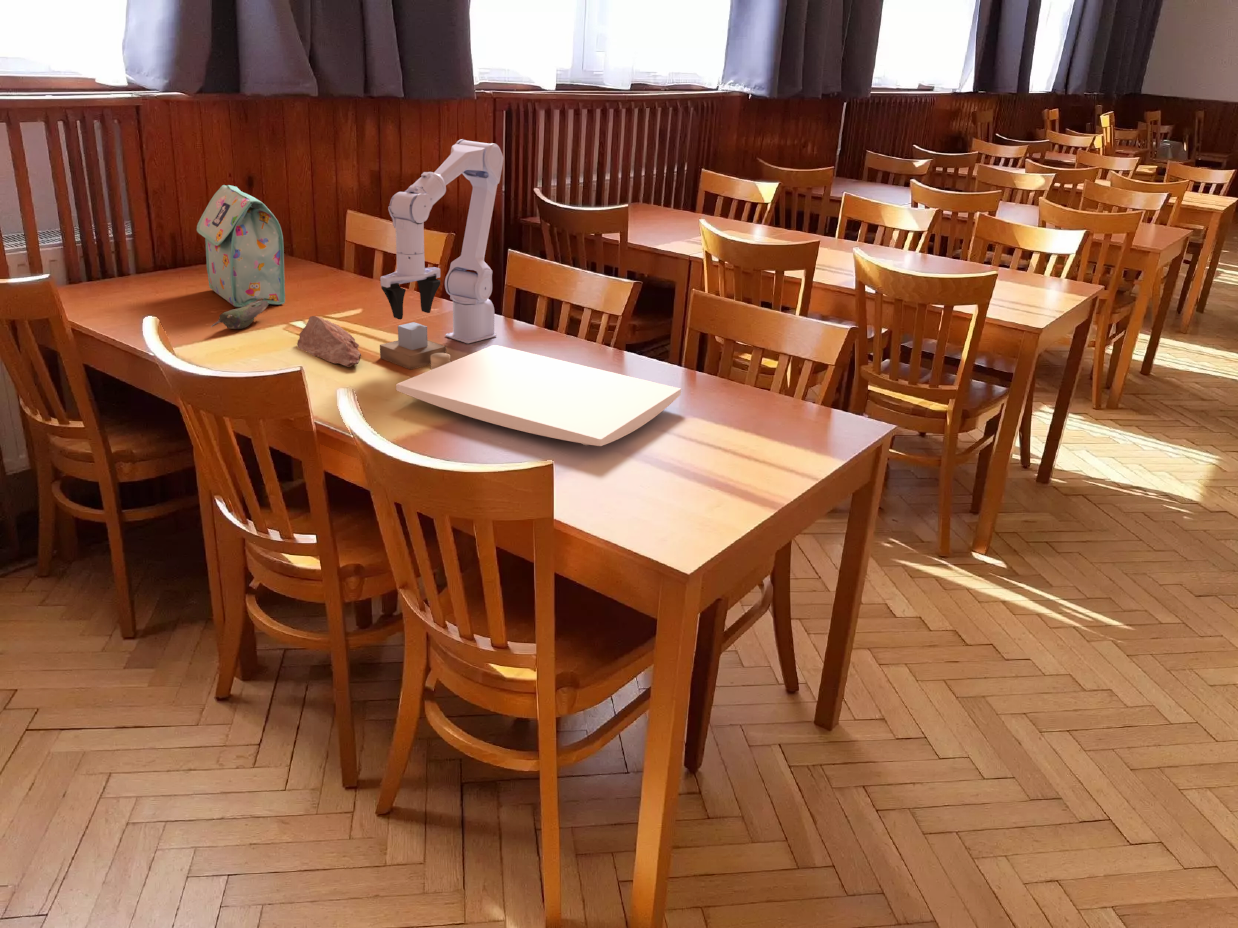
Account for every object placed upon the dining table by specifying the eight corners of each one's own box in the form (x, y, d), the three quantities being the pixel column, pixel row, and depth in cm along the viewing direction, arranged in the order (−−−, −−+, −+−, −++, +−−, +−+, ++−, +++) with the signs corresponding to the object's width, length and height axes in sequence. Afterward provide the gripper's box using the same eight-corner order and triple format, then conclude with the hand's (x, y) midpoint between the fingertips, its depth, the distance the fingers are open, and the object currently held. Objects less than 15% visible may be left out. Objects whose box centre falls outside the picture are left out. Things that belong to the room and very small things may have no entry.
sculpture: (203, 336, 220) (200, 314, 218) (261, 316, 236) (260, 296, 234) (219, 339, 218) (216, 317, 216) (277, 319, 235) (275, 299, 233)
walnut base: (416, 349, 221) (415, 336, 219) (446, 359, 215) (445, 346, 214) (380, 358, 213) (379, 344, 212) (410, 369, 208) (409, 355, 206)
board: (679, 410, 196) (681, 388, 194) (599, 464, 170) (600, 439, 168) (494, 365, 215) (494, 344, 213) (396, 407, 189) (396, 384, 187)
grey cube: (414, 341, 216) (413, 322, 214) (427, 346, 213) (427, 326, 211) (398, 345, 213) (397, 325, 211) (411, 350, 210) (411, 330, 208)
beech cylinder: (441, 374, 206) (441, 351, 204) (454, 379, 204) (454, 356, 202) (426, 378, 203) (426, 355, 201) (439, 383, 201) (439, 360, 199)
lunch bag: (200, 290, 254) (188, 183, 243) (264, 284, 263) (255, 181, 252) (227, 312, 238) (215, 199, 227) (294, 305, 247) (285, 196, 236)
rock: (333, 368, 202) (363, 330, 203) (286, 340, 218) (314, 305, 220) (367, 395, 209) (396, 358, 211) (318, 366, 226) (345, 332, 227)
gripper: (424, 244, 212) (425, 305, 218) (369, 252, 202) (372, 316, 207) (446, 250, 208) (447, 312, 214) (392, 259, 198) (394, 324, 203)
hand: (412, 315), depth 210 cm, fingers open, 7 cm apart
